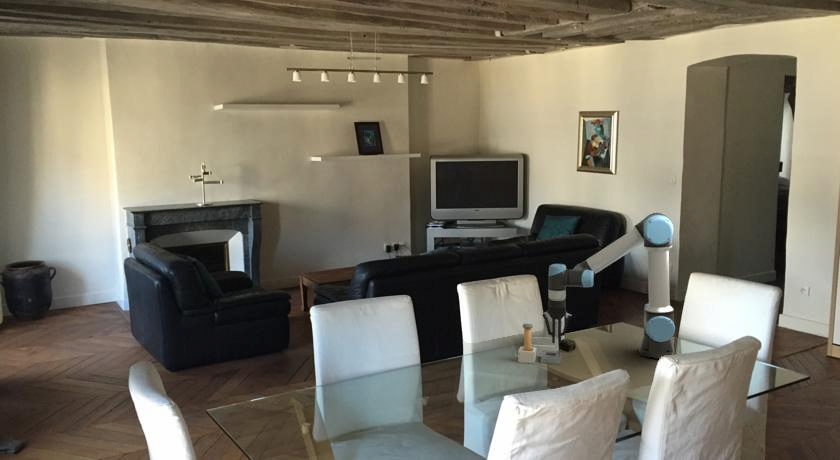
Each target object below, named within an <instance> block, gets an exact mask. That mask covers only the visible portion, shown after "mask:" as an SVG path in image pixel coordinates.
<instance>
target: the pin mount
mask: <svg viewBox="0 0 840 460" xmlns="http://www.w3.org/2000/svg"><path fill="white" fill-rule="evenodd" d="M561 360H562V352H561V351H555V352H553V351H542V354H541V356H540V363H541V364H550V365H551V364H552V365H553V364H554V365H560V364H561Z"/></svg>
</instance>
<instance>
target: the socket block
mask: <svg viewBox="0 0 840 460" xmlns="http://www.w3.org/2000/svg"><path fill="white" fill-rule="evenodd" d="M517 352H518V353H517V354H518V355H517V357H518V358H517V362H518V363H522V364H535V363H536V361H537V356H536V348H534V347H531V351H524V346H520V347H519V348H518V351H517Z"/></svg>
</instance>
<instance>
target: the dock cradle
mask: <svg viewBox="0 0 840 460" xmlns="http://www.w3.org/2000/svg"><path fill="white" fill-rule="evenodd" d="M531 347H534V348H536V357H541V354H542V351H553V352H556V351H555V343H552V338H549V337H544V336H532V335H531Z"/></svg>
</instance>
